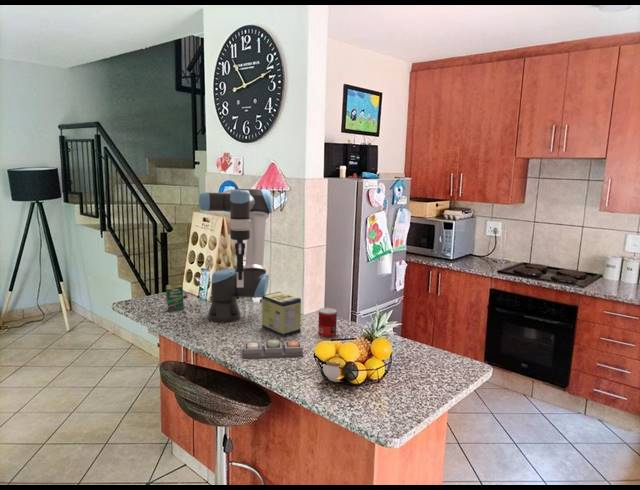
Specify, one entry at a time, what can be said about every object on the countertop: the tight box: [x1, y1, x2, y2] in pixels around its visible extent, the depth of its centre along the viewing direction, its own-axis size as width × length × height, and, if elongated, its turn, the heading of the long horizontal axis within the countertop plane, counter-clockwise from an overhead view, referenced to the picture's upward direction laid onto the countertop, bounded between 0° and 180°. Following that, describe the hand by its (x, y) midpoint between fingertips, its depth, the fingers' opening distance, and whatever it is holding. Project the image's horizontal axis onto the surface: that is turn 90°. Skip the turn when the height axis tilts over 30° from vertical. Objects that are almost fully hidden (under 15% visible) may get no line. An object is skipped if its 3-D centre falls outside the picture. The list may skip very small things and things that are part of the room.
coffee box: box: [165, 283, 185, 312], centre depth 227 cm, size 8×3×13 cm, turn 118°
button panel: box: [243, 340, 304, 360], centre depth 180 cm, size 23×10×3 cm, turn 99°
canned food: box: [317, 307, 338, 338], centre depth 200 cm, size 8×8×11 cm
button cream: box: [247, 342, 258, 349], centre depth 178 cm, size 4×4×2 cm
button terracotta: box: [287, 340, 299, 347], centre depth 181 cm, size 4×4×2 cm
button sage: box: [267, 339, 280, 348], centre depth 179 cm, size 4×4×2 cm
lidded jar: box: [322, 361, 342, 383], centre depth 159 cm, size 11×11×9 cm
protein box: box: [261, 291, 302, 338], centre depth 204 cm, size 10×16×16 cm
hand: (240, 286), depth 183 cm, fingers closed
